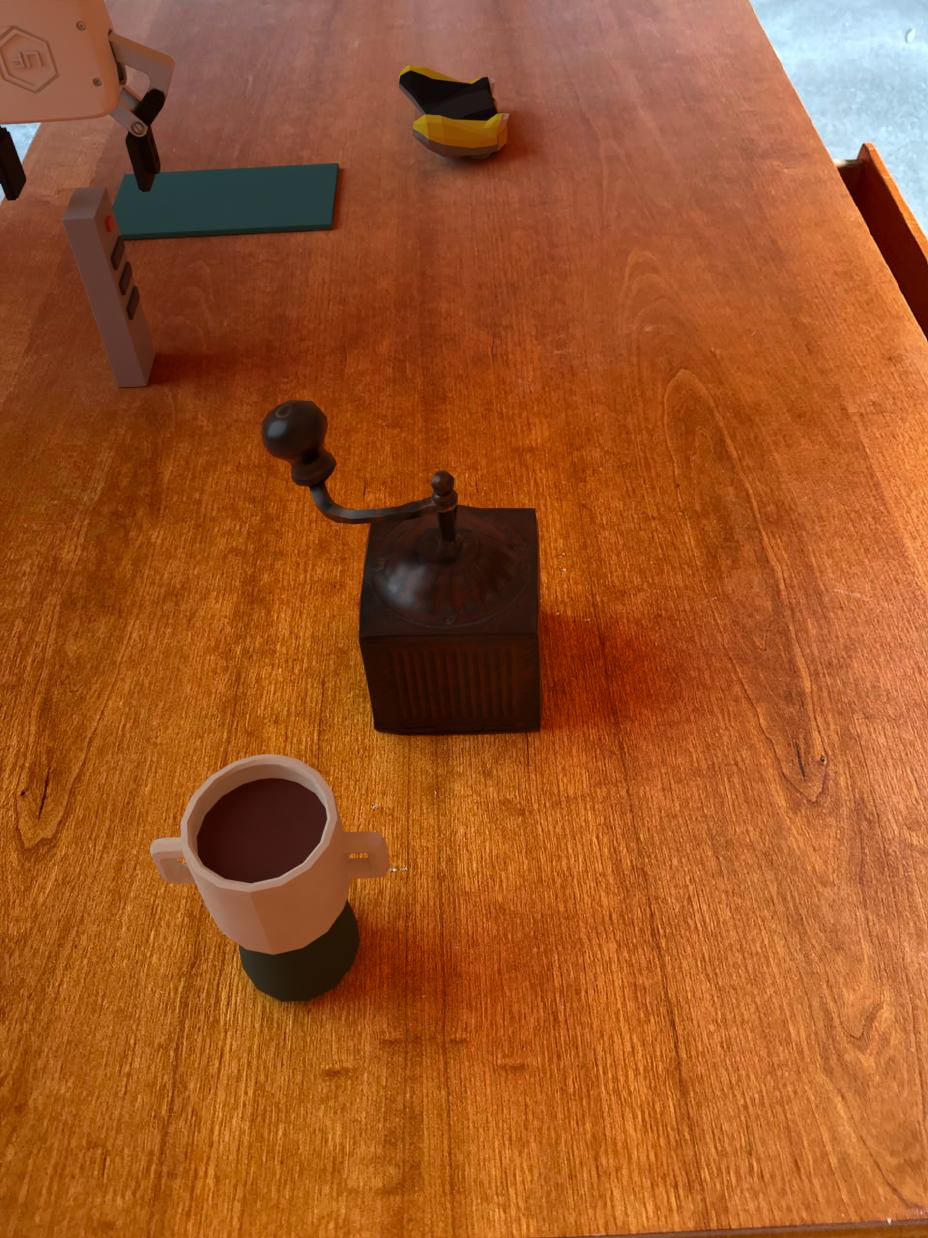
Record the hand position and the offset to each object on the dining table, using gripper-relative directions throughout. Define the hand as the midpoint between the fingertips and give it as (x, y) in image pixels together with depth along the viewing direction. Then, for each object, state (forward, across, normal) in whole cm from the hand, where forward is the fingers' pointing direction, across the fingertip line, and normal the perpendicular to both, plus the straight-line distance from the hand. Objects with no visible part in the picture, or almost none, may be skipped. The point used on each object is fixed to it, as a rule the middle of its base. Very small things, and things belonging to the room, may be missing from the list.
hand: (83, 186), depth 83 cm
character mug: (+17, +17, -52) cm, 57 cm away
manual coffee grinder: (+17, +23, -33) cm, 44 cm away
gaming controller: (+17, +26, +38) cm, 49 cm away
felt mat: (+16, +3, +27) cm, 32 cm away
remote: (+16, -1, 0) cm, 16 cm away
